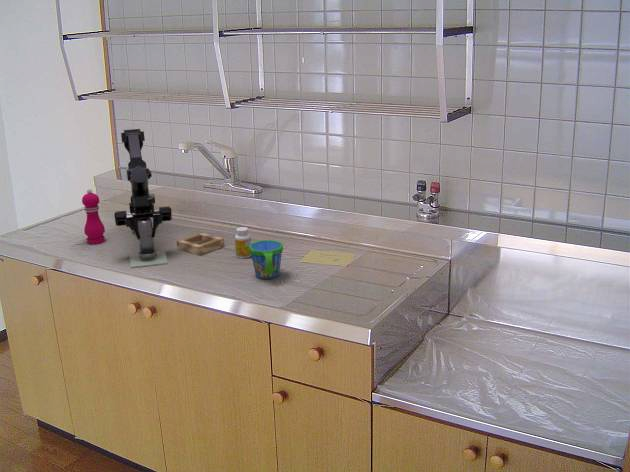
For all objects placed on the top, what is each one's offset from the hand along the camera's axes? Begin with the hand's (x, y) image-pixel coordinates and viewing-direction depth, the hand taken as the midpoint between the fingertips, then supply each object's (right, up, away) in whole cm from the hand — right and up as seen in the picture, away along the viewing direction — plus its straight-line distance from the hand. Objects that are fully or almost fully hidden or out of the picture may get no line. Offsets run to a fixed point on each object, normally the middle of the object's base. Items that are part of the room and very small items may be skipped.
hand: (146, 238), depth 233 cm
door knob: (0, -6, +3) cm, 7 cm away
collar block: (+16, -3, +15) cm, 22 cm away
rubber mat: (0, -7, +4) cm, 8 cm away
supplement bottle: (+32, -6, +6) cm, 33 cm away
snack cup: (+41, -12, -12) cm, 45 cm away
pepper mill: (-24, -2, +24) cm, 34 cm away
